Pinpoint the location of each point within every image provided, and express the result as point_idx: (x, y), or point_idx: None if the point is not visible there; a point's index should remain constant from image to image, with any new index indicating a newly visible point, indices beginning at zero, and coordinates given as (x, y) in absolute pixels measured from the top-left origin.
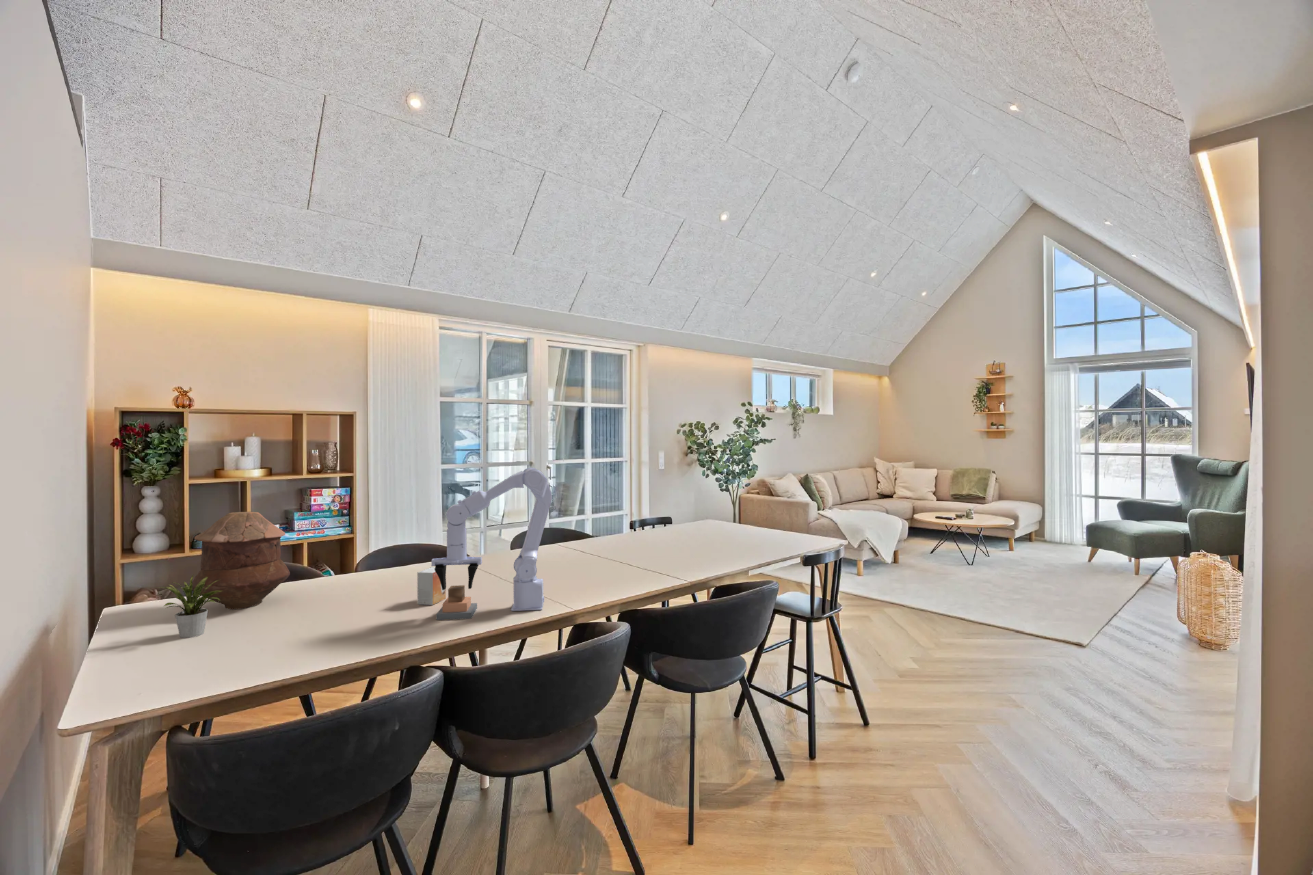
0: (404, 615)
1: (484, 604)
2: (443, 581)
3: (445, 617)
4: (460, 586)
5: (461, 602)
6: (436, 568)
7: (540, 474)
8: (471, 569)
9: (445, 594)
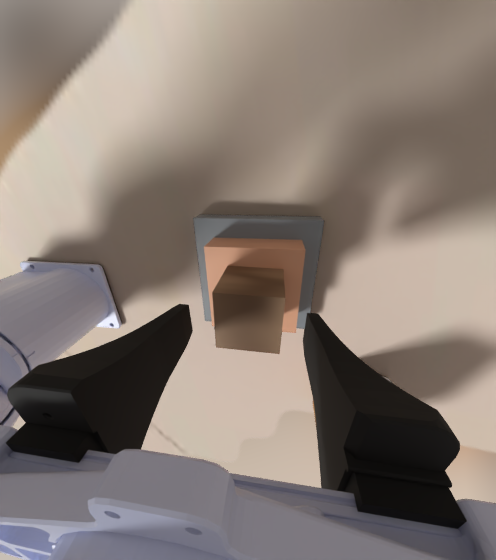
0: (436, 288)
1: (200, 339)
2: (319, 337)
3: (287, 217)
4: (230, 332)
5: (228, 259)
6: (435, 440)
7: None
8: (68, 367)
9: (314, 411)
